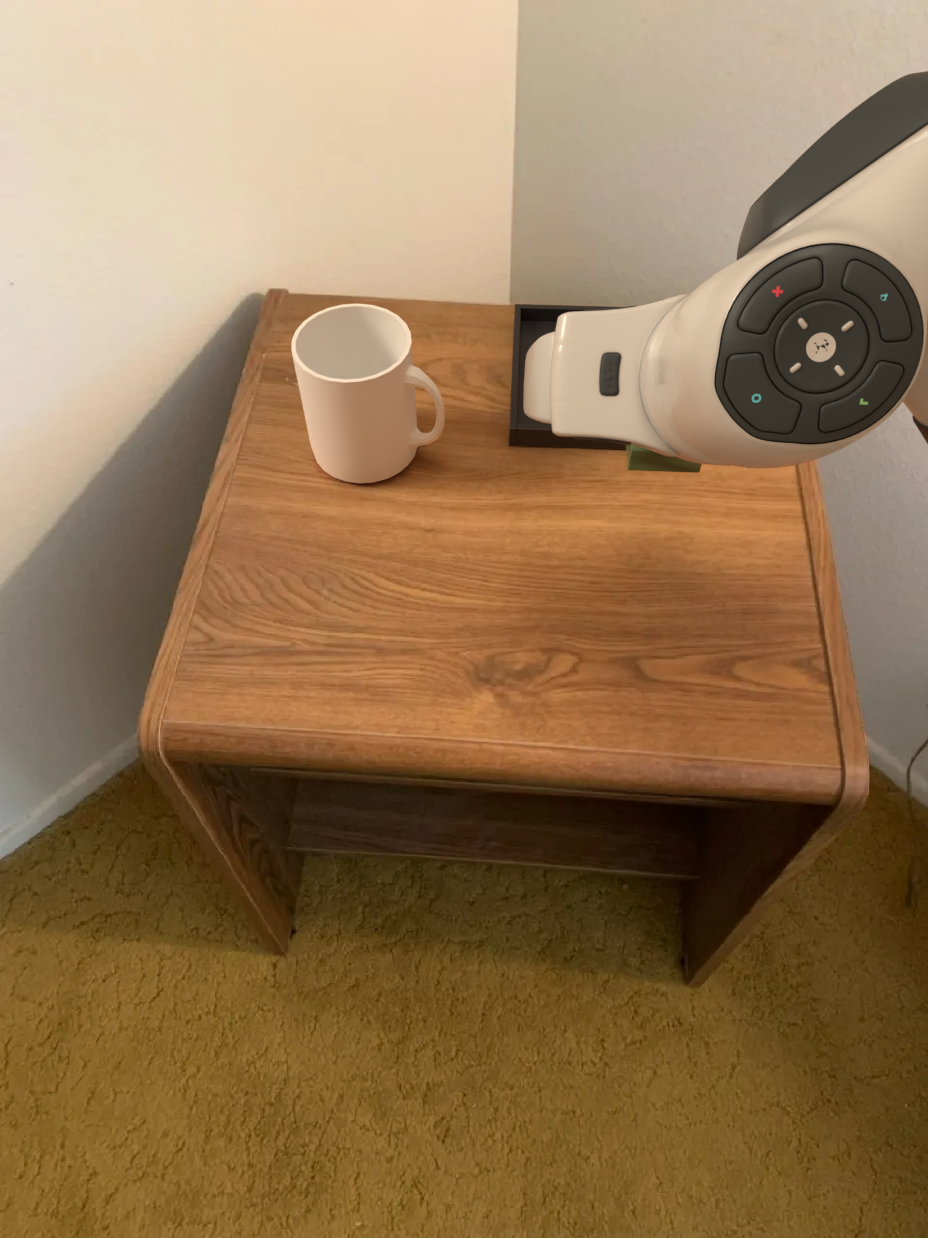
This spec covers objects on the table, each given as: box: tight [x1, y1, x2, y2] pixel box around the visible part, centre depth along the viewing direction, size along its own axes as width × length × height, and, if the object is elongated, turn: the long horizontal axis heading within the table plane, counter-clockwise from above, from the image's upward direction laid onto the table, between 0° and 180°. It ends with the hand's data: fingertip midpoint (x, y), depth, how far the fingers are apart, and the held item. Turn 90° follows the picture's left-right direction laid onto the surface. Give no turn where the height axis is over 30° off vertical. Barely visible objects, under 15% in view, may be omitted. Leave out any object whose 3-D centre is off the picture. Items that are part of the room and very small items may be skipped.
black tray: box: [508, 303, 626, 451], centre depth 86 cm, size 15×17×2 cm
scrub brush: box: [625, 444, 703, 474], centre depth 62 cm, size 5×4×9 cm
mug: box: [290, 303, 446, 484], centre depth 77 cm, size 10×12×12 cm
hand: (672, 394), depth 62 cm, fingers closed on scrub brush, 3 cm apart
